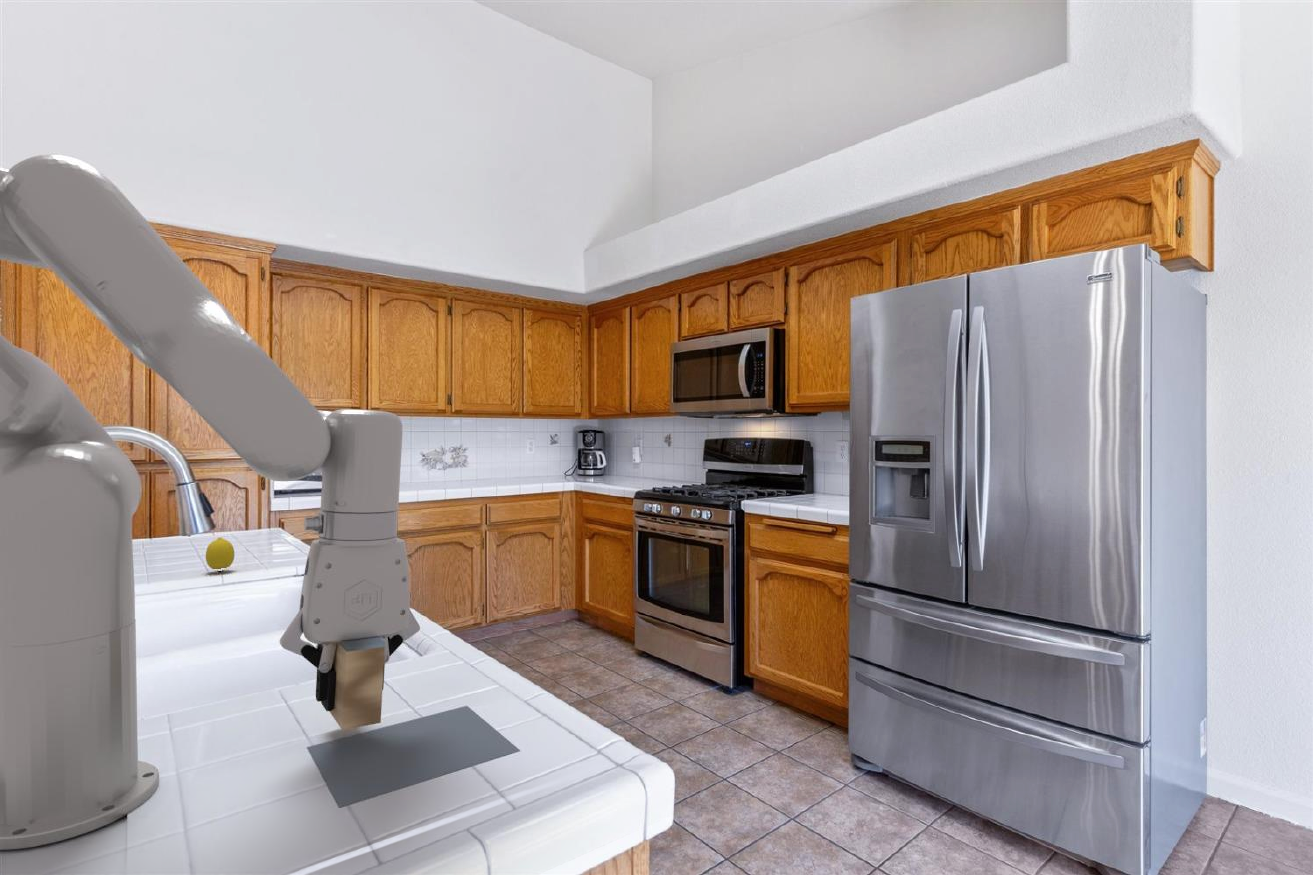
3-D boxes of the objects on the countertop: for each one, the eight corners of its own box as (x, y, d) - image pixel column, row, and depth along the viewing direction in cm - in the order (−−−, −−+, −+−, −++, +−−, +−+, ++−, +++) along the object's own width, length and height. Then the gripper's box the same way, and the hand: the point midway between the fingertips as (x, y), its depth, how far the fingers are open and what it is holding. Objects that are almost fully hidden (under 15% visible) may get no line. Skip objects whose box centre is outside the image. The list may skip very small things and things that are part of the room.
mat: (339, 811, 59) (339, 807, 59) (306, 750, 70) (306, 746, 70) (520, 754, 69) (520, 750, 69) (467, 708, 80) (467, 705, 80)
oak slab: (342, 730, 67) (346, 647, 67) (320, 697, 75) (324, 623, 75) (380, 722, 69) (385, 642, 69) (355, 691, 77) (359, 620, 77)
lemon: (228, 569, 160) (227, 534, 160) (239, 572, 157) (238, 537, 157) (201, 573, 156) (201, 538, 155) (212, 576, 152) (211, 540, 152)
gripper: (275, 534, 64) (264, 732, 64) (449, 529, 74) (440, 699, 74) (263, 525, 70) (253, 706, 70) (425, 521, 80) (417, 679, 80)
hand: (349, 700), depth 72 cm, fingers closed on oak slab, 3 cm apart
